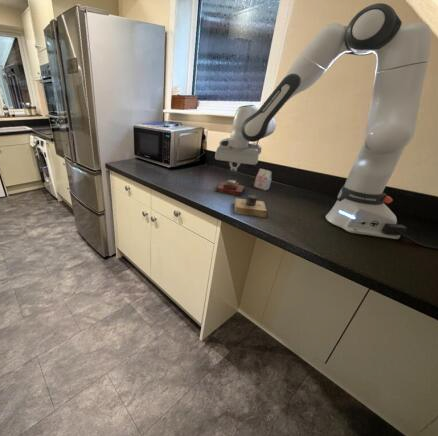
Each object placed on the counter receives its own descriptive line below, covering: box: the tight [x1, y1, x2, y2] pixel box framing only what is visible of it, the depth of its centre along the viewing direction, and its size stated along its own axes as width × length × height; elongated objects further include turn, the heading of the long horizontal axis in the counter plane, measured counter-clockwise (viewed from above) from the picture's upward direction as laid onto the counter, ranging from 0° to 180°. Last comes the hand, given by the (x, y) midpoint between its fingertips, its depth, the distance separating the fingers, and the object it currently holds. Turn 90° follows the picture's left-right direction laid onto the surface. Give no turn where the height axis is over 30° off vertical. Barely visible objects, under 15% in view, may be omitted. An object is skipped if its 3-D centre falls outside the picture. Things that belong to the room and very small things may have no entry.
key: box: [227, 179, 237, 185], centre depth 120 cm, size 4×4×2 cm
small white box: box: [253, 168, 273, 191], centre depth 124 cm, size 4×7×10 cm, turn 33°
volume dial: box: [246, 194, 258, 206], centre depth 100 cm, size 4×4×4 cm
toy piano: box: [215, 180, 245, 197], centre depth 122 cm, size 12×10×4 cm
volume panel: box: [233, 197, 268, 218], centre depth 101 cm, size 12×10×3 cm
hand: (233, 170), depth 118 cm, fingers closed
